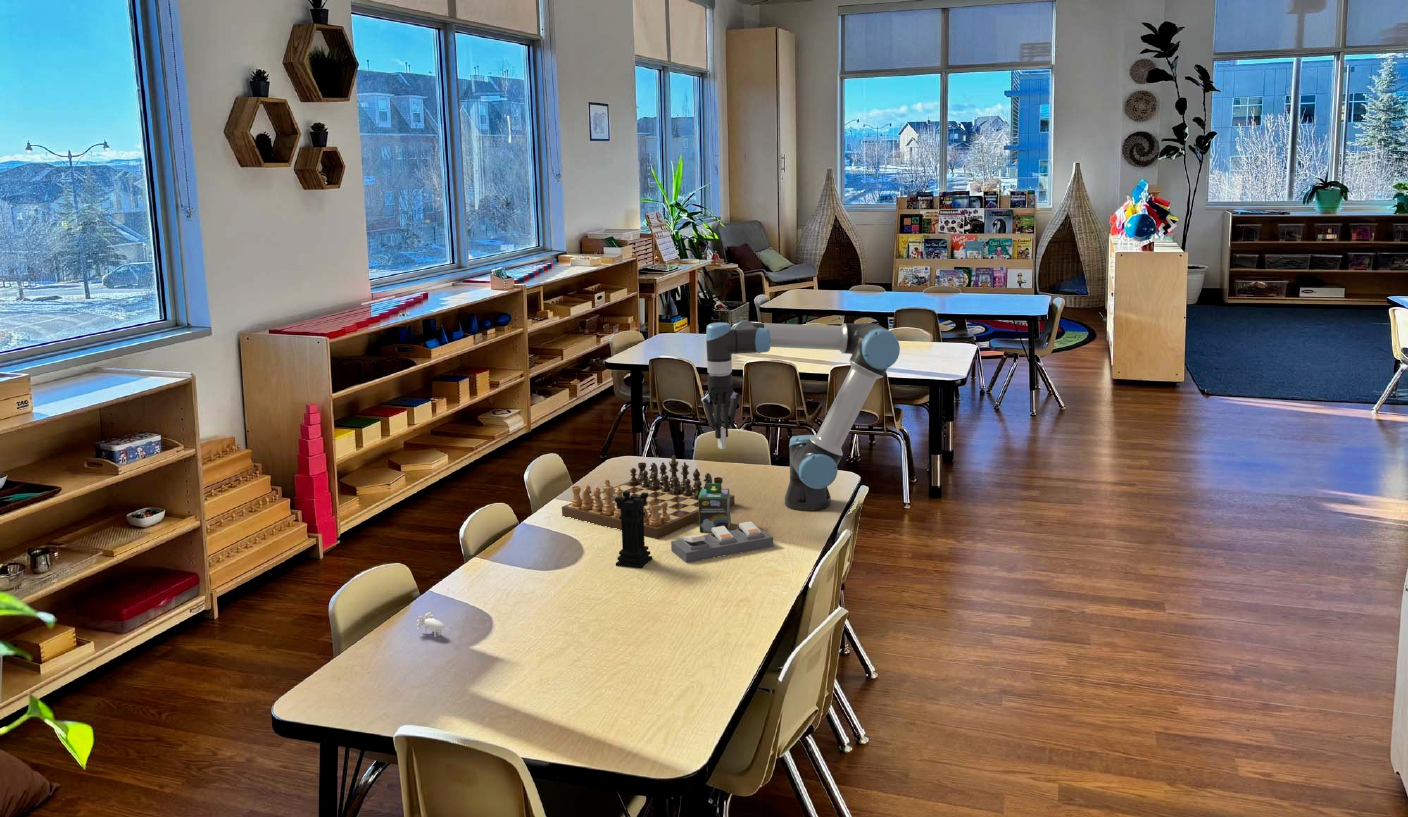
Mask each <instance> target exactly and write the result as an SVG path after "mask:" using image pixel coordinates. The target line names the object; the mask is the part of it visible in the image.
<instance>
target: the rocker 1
mask: <svg viewBox="0 0 1408 817" xmlns="http://www.w3.org/2000/svg"><path fill="white" fill-rule="evenodd" d="M703 536H704V535H699V534H693V535H686V536H683V538H682V539H684V541H688V542H698V541H703V540H705V537H703Z"/></svg>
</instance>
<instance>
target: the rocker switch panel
mask: <svg viewBox="0 0 1408 817" xmlns="http://www.w3.org/2000/svg"><path fill="white" fill-rule="evenodd" d="M755 526H756V525H755ZM756 527H757V528H758V529H759V530H760V531H761V534H759V535H754V536H747V535H746V534H745V533H744V531H743V530H742V529H741V528H740V527H739V528H736V529H733V530H729V532H730V534H731V535H732V536H733V539H732V540H726V541H721V542H720V541H719V539H718V538H717V537H716V536H715V535H714V533H713V532H711V533H708V534H704V535H702V536H703V537H705V540H703V541H698V542H688V541H684V539H683V538H680V539H677V540H671V541H670V549H671V552H672V554H673V553H674V555H676V557H679V558H680V559H681V560H682V561H683V562H685V563H686V564H687V563H693V562H699V561H704V560H710V559H714V558H713V557H715V558H719V557H718V556H721V557H724V556H723V555H726V556H730V555H729V554H731V555H735V554H734V553H737V554H741V553H740V552H742V553H747V552H752V550H753V551H757V550H758V551H759V550H763V549H767V548H769V549H770V548H773V547H774V536H772V535H771V534H769V533H768V532H766V531H764V530H763V529H761V528H760V527H758V526H756ZM709 558H710V559H709ZM703 559H704V560H703Z"/></svg>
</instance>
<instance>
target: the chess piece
mask: <svg viewBox="0 0 1408 817" xmlns="http://www.w3.org/2000/svg"><path fill="white" fill-rule="evenodd" d="M647 497H648V493H645V492H643V493H641V497H639V496H630V491H624V492H623V498H622V497H616V498H615V502H616V503H617V509H621V516H620V517H619V519H621V524H622V531H621V544H622V549H621V550H620V551H619V552H618V556H617V561H616V563H615V567H622V568H631V569H632V568H633V569H639V570H640V569H643V568H644V567H645V566H647V564H649V563H650V562H651V561H652V560H653V556H652V555H651V551H650V550H649V546H648V545H645V536H644V516H645V512H643V506H645V505H646V504H647Z"/></svg>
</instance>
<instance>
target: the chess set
mask: <svg viewBox="0 0 1408 817" xmlns="http://www.w3.org/2000/svg"><path fill="white" fill-rule="evenodd" d="M668 464H669V467H670V469H669V471H667V469H668V467H667V465H666V464H665V462H663V461H662V462H661V464H660V466H659V468H658V465H657V464H656V462H652V463H651V464H650V467H649V469H648V470H649V471H650V475H649V473H648V472H649V471H647V469H646V468H647V462H643V461H642V462H638V463H637V467H638V469H639V473H638V474H637V468H635V467H632V468H630V473H631V474H630V476H631V478H630V479H629V480H628V481H627V482H624V483H622V484H619V485H617V486H614V487H613V485H611V482H610V479H605V482H604V484H605V485H604V486H602V490H603V491H601V488H600V487H598V486H595V487H594V489H593V491H592V490H591V486H590V485H588V484H586V485H585V486H584V487H583V490H581V489H582V488H581V486H579V485H574V486H572V487H571V492H572V494H573V496H572V499H571V502H570V503H569V504H566V505H562V506H561V515H562V516H561V517H563V516H565V517H564V518H567V517H571V518H574V519H573V520H575V519H578V520H577V521H579V520H581V522H584V521H587V522H586V523H588V522H590V523H589V524H592V523H594V524H593V525H596V524H598V525H597V526H600V525H601V527H604V526H607V527H606V528H608V527H610V528H609V529H612V528H617V529H620V530H619V531H621V530H622V524H621V519H619V517H620V516H621V509H617V503H616V502H615V498H616V497H622V498H623V492H624V491H630V496H639V497H641V493H643V492H645V493H648V497H647V504H646V505H645V506H643V512H645V516H644V537H645V538H646V537H647V538H651V539H654V538H655V540H660V539H661V538H664V537H666V536H669V535H671V534H673V533H675V532H677V531H680V530H681V529H684V528H687V527H689V526H691V525H693V524H695V523H699V505H698V497H699V495H700V491H701V490H702V489H706V484H707V483H720V484H721V489H723V486H722V483H723V481H724V480H723V477H721V476H716V477H714V478H712V475H711V473H709V472H706V474H705V475H704V478H703V482H705V484H704V486H702V485H703V483H702V481H701V478H700V476H701V472H700V471H699V469H698V468H695V469H694V471H693V473H692V476H693V479H692V481H694V483H693V485H691V479H690V478H688V475H689V474H690V472H689V471H688V470H689V467H690V466H689V465H687V462H685V461H684V462H683V465H681V466H680V468H681V472H680V474H681V475H682V481H680V480H679V479H680V478H679V477H678V475H677V473H678V472H679V471H680V470H679V469H678V466H679V461H677V457H676V455H672V456H671V459H670V461H669V462H668ZM659 470H660V471H659ZM668 472H670V473H671V476H670V477H669V475H668ZM659 474H660V475H661V476H660V478H658V477H659ZM637 475H638V477H636V476H637ZM648 475H649V476H648ZM710 489H713V486H712V487H711V488H710ZM714 489H717V487H715V486H714ZM581 491H582V495H580V492H581ZM592 493H593V494H592ZM590 494H592V495H590ZM581 496H582V498H581ZM733 506H735V495H734V494H730V508H731V507H733ZM571 518H570V519H571ZM617 529H616V530H617Z"/></svg>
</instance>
